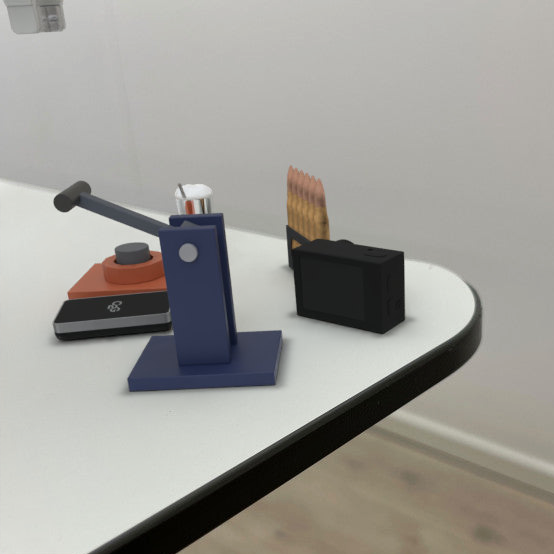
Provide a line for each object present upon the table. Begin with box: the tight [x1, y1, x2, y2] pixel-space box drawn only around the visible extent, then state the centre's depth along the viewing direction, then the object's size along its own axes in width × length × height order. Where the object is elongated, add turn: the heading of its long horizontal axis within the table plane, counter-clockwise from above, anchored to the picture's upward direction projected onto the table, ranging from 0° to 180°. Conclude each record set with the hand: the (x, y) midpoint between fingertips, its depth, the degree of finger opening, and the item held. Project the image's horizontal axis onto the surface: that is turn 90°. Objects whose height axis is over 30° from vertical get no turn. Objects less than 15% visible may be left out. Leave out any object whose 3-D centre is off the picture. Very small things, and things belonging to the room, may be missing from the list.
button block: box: [66, 249, 167, 300], centre depth 84 cm, size 12×10×4 cm
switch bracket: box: [126, 212, 284, 392], centre depth 64 cm, size 12×9×13 cm
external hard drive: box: [52, 291, 173, 341], centre depth 76 cm, size 7×11×2 cm, turn 100°
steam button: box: [114, 241, 151, 265], centre depth 83 cm, size 4×4×2 cm
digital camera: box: [292, 238, 406, 335], centre depth 75 cm, size 10×5×7 cm, turn 56°
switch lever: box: [52, 180, 199, 238], centre depth 61 cm, size 12×5×2 cm, turn 91°
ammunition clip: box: [285, 165, 331, 271], centre depth 85 cm, size 11×2×12 cm, turn 24°
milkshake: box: [174, 182, 214, 215], centre depth 94 cm, size 4×5×10 cm
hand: (41, 33), depth 56 cm, fingers open, 3 cm apart
